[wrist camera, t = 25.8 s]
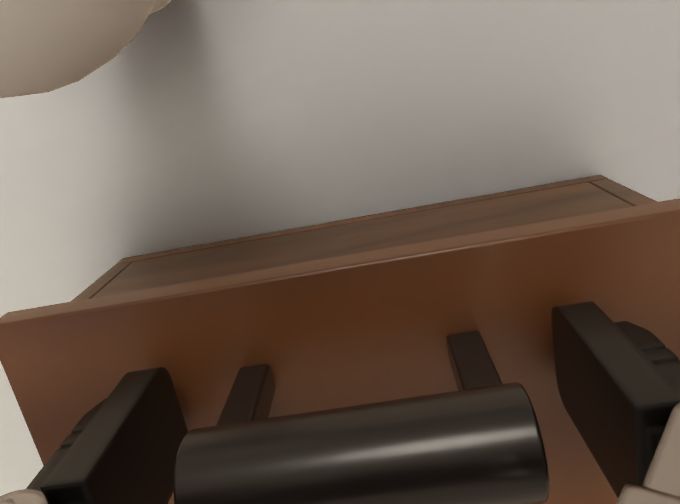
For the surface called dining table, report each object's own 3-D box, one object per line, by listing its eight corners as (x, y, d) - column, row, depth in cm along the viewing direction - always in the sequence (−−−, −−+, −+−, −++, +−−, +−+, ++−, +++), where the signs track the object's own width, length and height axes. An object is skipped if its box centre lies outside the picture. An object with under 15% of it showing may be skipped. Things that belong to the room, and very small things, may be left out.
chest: (122, 258, 19) (19, 342, 13) (601, 174, 18) (716, 227, 12) (244, 637, 24) (208, 816, 19) (623, 595, 23) (711, 775, 17)
